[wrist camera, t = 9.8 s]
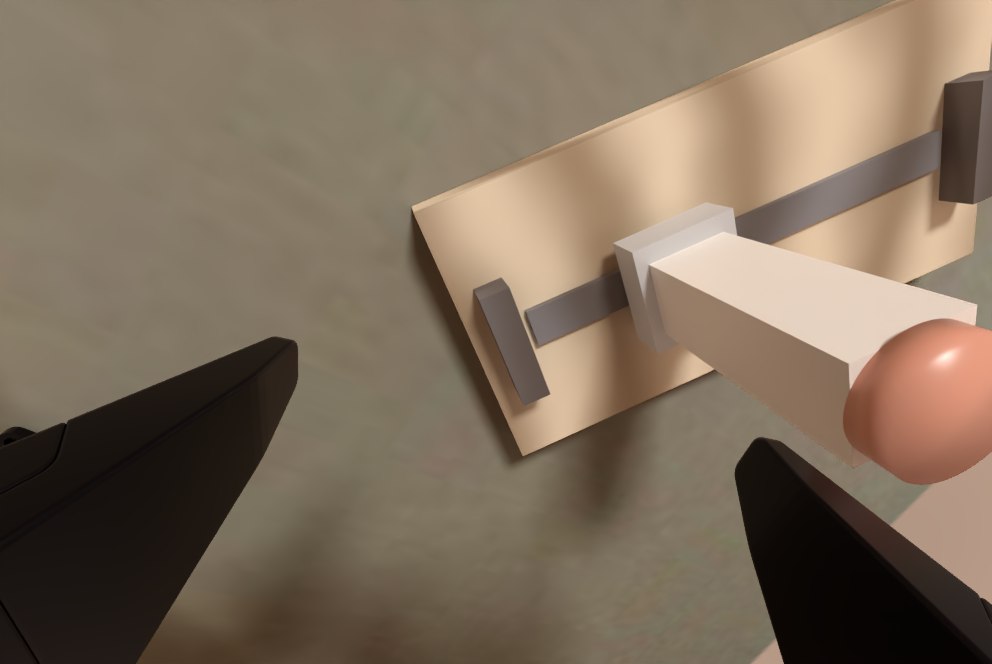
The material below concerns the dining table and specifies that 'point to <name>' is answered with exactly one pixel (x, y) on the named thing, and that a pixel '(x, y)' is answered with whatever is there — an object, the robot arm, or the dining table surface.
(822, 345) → the slider lever
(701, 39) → the dining table surface
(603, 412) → the slider console
